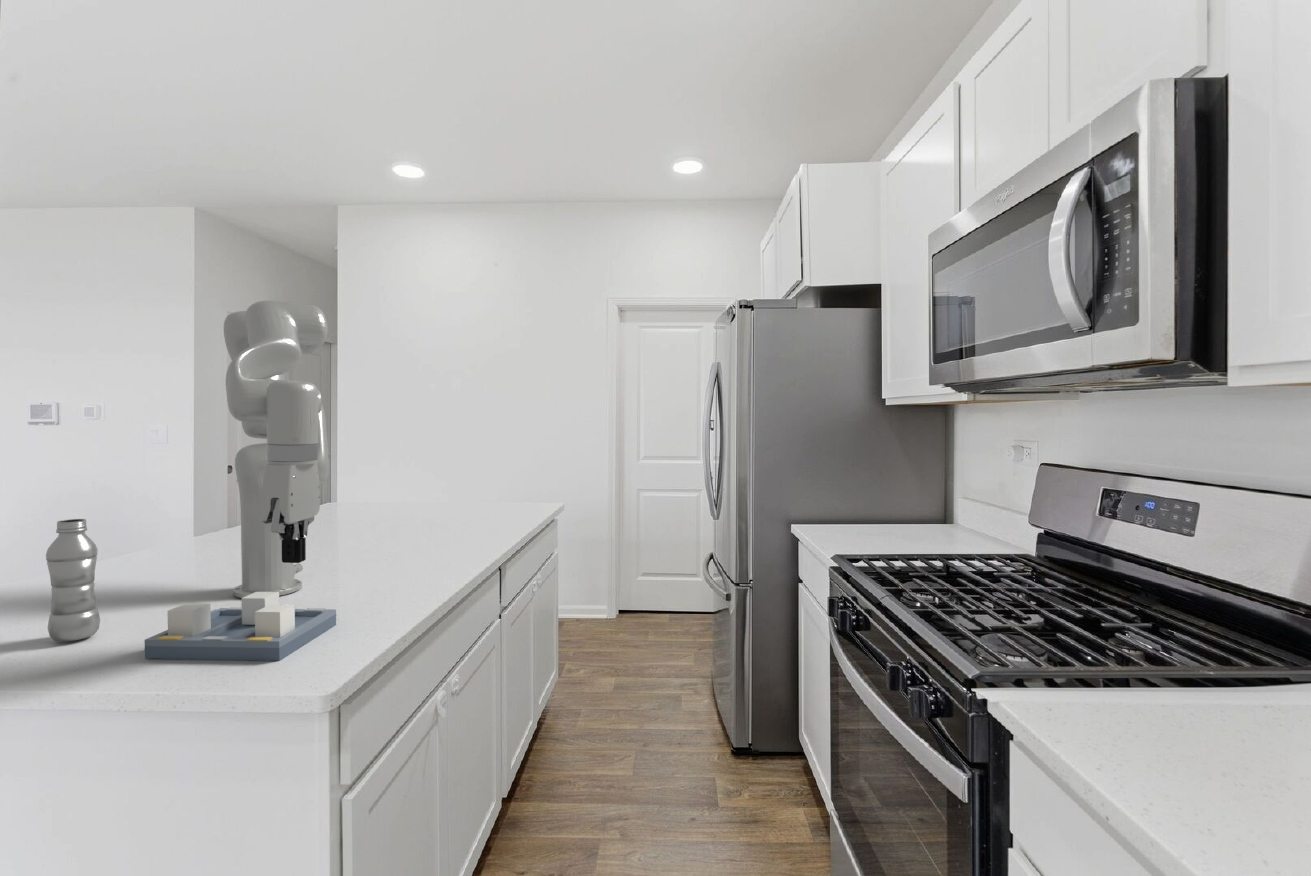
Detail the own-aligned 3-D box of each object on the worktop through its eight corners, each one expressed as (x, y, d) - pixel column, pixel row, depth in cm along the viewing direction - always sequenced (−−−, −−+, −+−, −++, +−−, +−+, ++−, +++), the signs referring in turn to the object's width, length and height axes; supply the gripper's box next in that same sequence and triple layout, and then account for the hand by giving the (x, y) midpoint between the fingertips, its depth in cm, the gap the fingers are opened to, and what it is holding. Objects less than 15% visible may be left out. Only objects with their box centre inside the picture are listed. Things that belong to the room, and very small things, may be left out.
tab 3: (270, 631, 105) (270, 604, 105) (294, 631, 105) (294, 604, 105) (255, 639, 101) (254, 611, 101) (280, 640, 101) (279, 612, 101)
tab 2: (256, 617, 113) (256, 591, 113) (279, 617, 113) (279, 592, 113) (241, 624, 109) (241, 598, 109) (265, 624, 109) (264, 598, 109)
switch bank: (221, 623, 116) (220, 605, 116) (336, 624, 116) (335, 607, 116) (144, 658, 99) (144, 638, 99) (279, 660, 99) (279, 640, 99)
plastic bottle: (69, 647, 103) (66, 524, 103) (36, 644, 105) (33, 522, 104) (110, 634, 110) (108, 518, 109) (79, 631, 111) (76, 516, 110)
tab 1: (186, 630, 106) (186, 603, 105) (210, 630, 106) (210, 603, 105) (168, 638, 102) (167, 610, 101) (192, 639, 102) (192, 611, 101)
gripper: (296, 450, 115) (297, 550, 117) (241, 457, 101) (243, 572, 102) (337, 451, 115) (338, 551, 116) (289, 459, 100) (289, 574, 102)
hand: (293, 561), depth 109 cm, fingers closed
